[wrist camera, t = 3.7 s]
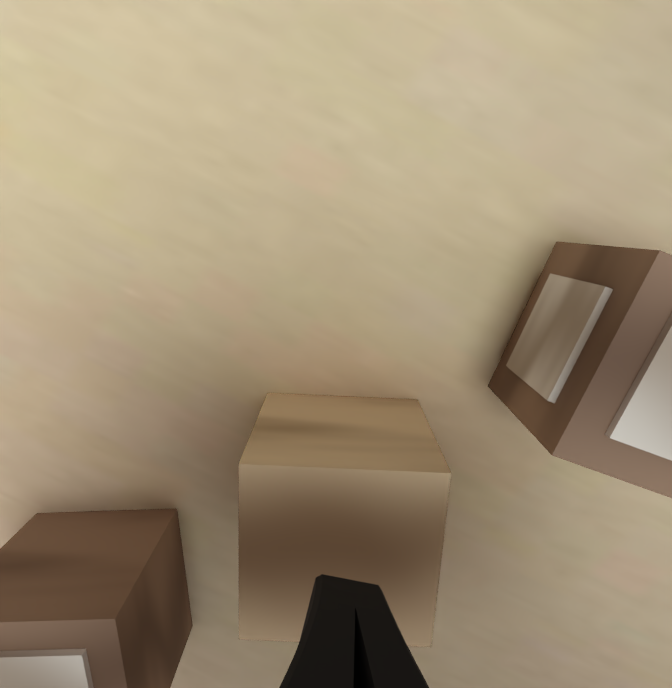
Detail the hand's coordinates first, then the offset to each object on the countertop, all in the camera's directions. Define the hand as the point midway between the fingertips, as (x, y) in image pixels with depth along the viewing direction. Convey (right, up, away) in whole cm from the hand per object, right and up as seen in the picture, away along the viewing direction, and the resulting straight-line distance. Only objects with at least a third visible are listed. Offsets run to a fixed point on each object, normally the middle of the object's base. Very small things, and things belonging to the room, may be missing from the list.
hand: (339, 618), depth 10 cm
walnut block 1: (-8, -3, +8) cm, 12 cm away
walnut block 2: (+8, +6, +6) cm, 12 cm away
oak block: (0, +2, +7) cm, 7 cm away
